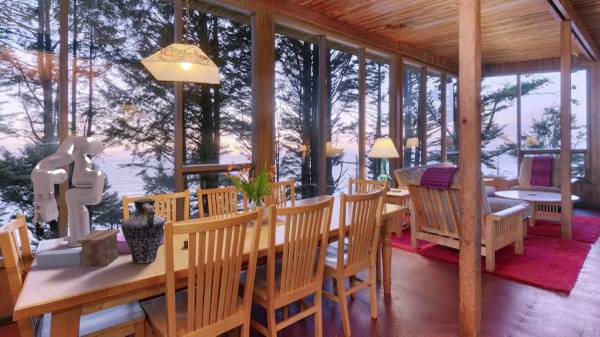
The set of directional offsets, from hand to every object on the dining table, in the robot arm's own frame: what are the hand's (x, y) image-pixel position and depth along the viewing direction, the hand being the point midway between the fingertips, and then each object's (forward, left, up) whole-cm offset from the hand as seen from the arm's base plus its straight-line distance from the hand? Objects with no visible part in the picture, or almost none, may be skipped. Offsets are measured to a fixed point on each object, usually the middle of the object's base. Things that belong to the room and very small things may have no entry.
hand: (47, 232), depth 158 cm
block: (+6, -1, -15) cm, 16 cm away
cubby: (+24, 0, -15) cm, 28 cm away
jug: (+45, 0, -15) cm, 47 cm away
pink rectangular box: (+34, +23, -15) cm, 44 cm away
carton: (+62, +26, -16) cm, 69 cm away
